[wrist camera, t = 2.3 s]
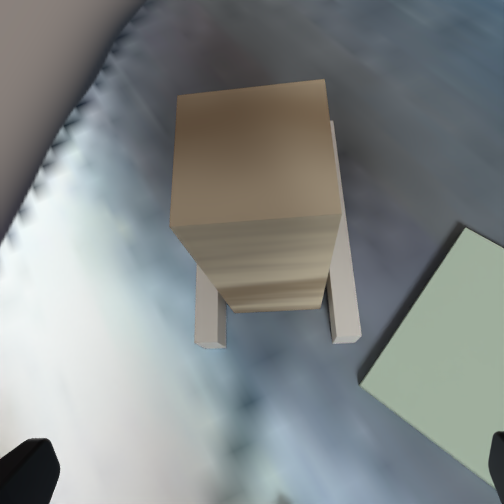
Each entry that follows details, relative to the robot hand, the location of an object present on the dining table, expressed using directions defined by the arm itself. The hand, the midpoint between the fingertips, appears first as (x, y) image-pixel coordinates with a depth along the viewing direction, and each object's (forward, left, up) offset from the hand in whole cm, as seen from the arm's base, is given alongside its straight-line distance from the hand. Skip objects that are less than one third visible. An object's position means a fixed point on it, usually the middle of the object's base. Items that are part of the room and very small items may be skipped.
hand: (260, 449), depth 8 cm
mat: (+9, -8, -13) cm, 18 cm away
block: (+6, +5, -13) cm, 15 cm away
